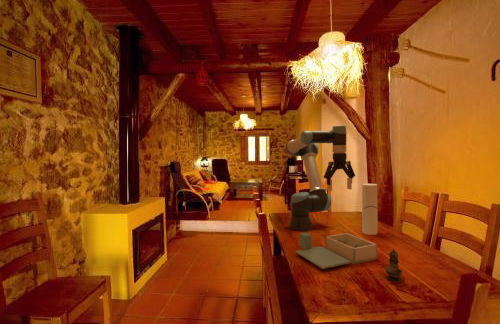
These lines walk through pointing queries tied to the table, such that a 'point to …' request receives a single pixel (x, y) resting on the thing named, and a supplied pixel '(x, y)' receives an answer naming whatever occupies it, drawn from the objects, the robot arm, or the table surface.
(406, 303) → the table surface
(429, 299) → the table surface
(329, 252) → the lid
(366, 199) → the container
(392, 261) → the dark statuette
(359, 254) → the tub
